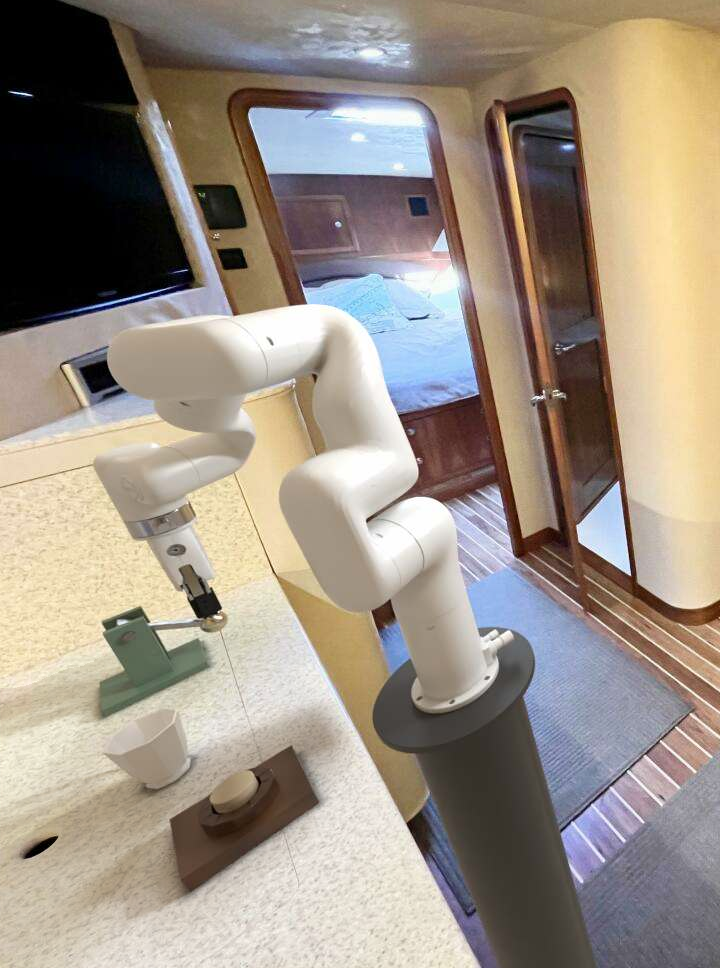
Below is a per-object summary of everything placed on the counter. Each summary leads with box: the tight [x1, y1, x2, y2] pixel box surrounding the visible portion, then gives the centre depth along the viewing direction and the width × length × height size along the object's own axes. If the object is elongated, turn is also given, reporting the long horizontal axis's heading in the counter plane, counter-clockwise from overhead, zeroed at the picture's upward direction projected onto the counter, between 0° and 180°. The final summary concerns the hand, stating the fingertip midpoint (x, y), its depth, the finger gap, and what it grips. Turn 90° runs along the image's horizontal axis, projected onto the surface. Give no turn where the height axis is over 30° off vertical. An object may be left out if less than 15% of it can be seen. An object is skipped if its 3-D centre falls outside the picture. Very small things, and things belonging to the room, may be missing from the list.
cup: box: [101, 707, 192, 790], centre depth 70 cm, size 7×10×8 cm
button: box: [210, 769, 259, 814], centre depth 63 cm, size 4×4×2 cm
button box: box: [169, 744, 320, 893], centre depth 64 cm, size 12×10×4 cm
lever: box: [115, 610, 229, 634], centre depth 87 cm, size 13×4×4 cm, turn 139°
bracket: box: [98, 605, 210, 717], centre depth 85 cm, size 12×9×12 cm
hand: (209, 612), depth 91 cm, fingers closed
